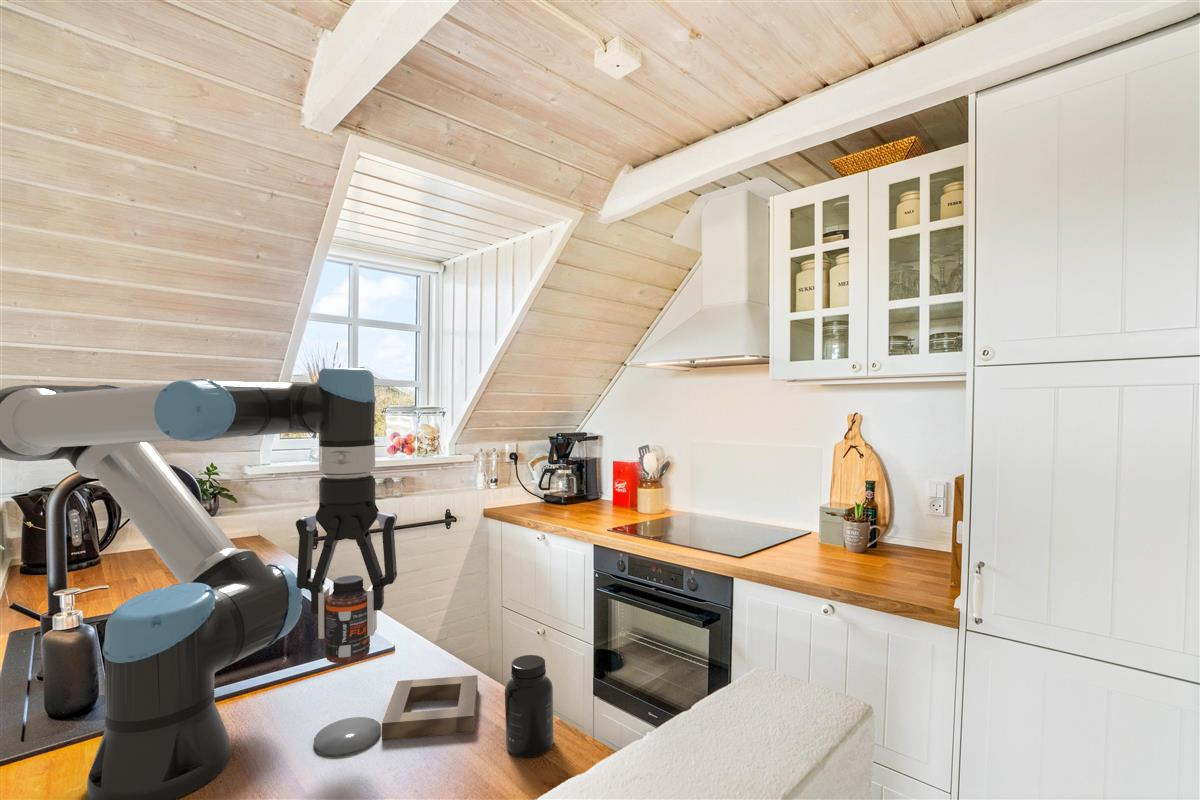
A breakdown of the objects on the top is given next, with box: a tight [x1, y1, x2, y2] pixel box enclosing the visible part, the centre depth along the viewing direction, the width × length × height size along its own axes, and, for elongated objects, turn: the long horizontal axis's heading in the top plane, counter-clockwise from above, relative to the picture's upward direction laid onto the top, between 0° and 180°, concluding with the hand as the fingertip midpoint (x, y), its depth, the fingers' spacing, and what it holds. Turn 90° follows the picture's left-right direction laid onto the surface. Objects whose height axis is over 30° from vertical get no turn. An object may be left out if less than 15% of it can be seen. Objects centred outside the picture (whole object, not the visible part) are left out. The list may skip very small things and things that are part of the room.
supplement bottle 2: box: [504, 654, 555, 759], centre depth 86 cm, size 7×7×12 cm
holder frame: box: [381, 674, 479, 741], centre depth 94 cm, size 13×13×2 cm
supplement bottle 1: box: [325, 574, 371, 665], centre depth 87 cm, size 6×6×11 cm
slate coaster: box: [313, 716, 382, 757], centre depth 88 cm, size 9×9×1 cm
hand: (348, 633), depth 88 cm, fingers closed on supplement bottle 1, 6 cm apart
